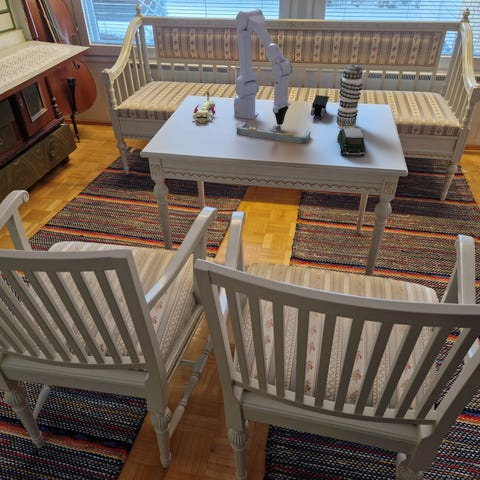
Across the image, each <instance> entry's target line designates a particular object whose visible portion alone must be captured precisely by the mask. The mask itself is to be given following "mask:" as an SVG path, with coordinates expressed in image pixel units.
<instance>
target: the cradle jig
mask: <svg viewBox="0 0 480 480" xmlns="http://www.w3.org/2000/svg"><path fill="white" fill-rule="evenodd" d="M236 134H237V135H244V136H248V137H249V136H251V137H257V138H263V139H270V140H276V141H282V142H290V143H295V144H303V145H304V144H305V145H306V143H307V142H308V141H309V139H310V138H311V130H307V131H306V132H305V133H304V134H303V135H296V134H294V133H293V132H285V133H283V132H278V131H277V132H270V131H268V130H264V129H263V130H262V129H257V127H251V126H249V128H248V122H246V121H243V122H242V123H241V124H240V125H238V126H237V127H236Z"/></svg>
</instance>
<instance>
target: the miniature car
mask: <svg viewBox="0 0 480 480" xmlns="http://www.w3.org/2000/svg"><path fill="white" fill-rule="evenodd" d="M336 139H337V141H336V142H337V143H338V144H339V148H340V152H339V153H340V156H345V154H346V155H347V156H348V155H359V156H363V157H364V156H365V155H366V144H365V138H364V132H363V131H362V128H359V127H358V128H357V127H355V128H344V129H339V132H338V134H337V138H336Z"/></svg>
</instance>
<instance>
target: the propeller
mask: <svg viewBox="0 0 480 480" xmlns="http://www.w3.org/2000/svg"><path fill="white" fill-rule="evenodd" d="M279 126H281V125H277V124H275V125H272V126H271V127H269V128H268V129H267V131H270V132H277V133H278V129H277V127H279Z"/></svg>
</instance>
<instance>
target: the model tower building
mask: <svg viewBox="0 0 480 480" xmlns="http://www.w3.org/2000/svg"><path fill="white" fill-rule="evenodd" d="M363 72H364V69H363V68H362V66H361V65H360V64H355V63H354V64H353V63H351V64H348V65H346V66H345V67H344V68H343V74H342V78H341V79H340V84H339V85H340V87H339V93H338V94H340V95H339V96H338V98H339V104H338V108H337V116H336V120H335V126H336V127H337V128H339V129H341V130H344V128H356V125H357V120H358V119H357V117H358V112H359V110H358V106H359V104H358V103H359V101H360V99H361V95H362V94H361V91H362V89H363V88H362V87H363V83H362V81H363Z"/></svg>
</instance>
